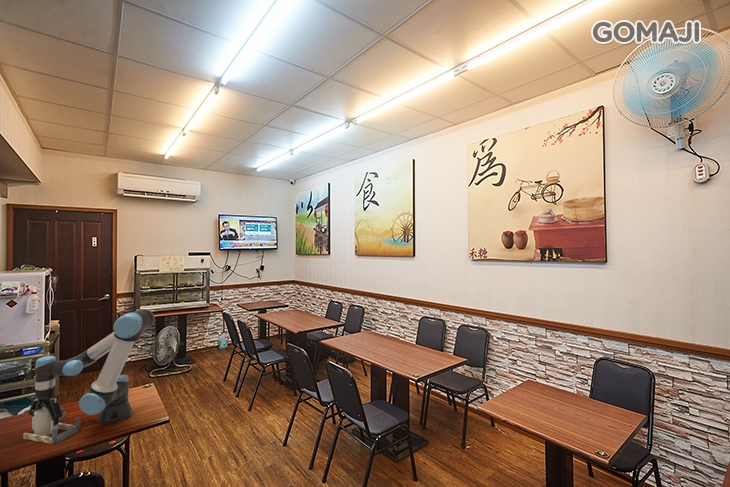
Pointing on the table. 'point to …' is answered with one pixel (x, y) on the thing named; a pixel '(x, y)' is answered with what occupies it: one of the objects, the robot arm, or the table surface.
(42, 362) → the robot arm
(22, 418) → the table surface
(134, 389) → the table surface
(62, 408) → the grey-brown rounded block
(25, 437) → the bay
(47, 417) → the cup
